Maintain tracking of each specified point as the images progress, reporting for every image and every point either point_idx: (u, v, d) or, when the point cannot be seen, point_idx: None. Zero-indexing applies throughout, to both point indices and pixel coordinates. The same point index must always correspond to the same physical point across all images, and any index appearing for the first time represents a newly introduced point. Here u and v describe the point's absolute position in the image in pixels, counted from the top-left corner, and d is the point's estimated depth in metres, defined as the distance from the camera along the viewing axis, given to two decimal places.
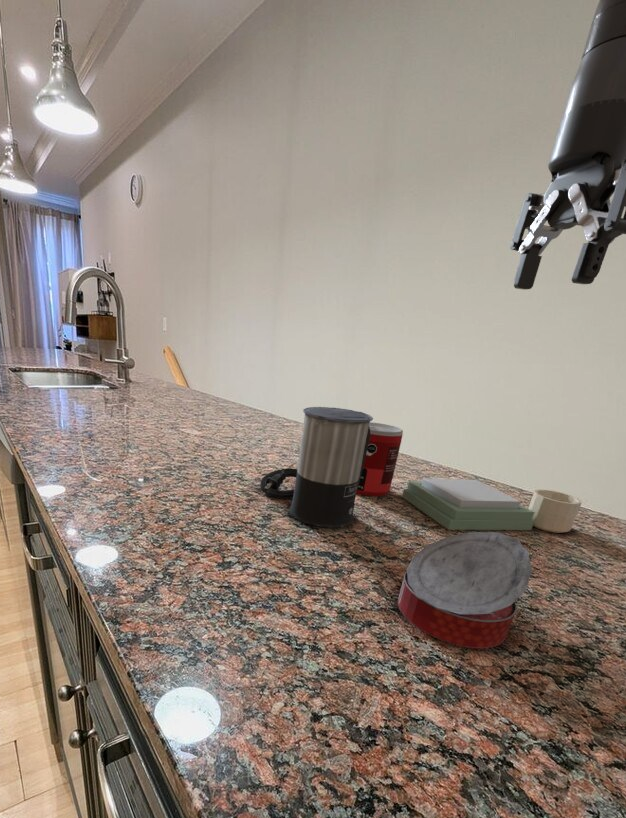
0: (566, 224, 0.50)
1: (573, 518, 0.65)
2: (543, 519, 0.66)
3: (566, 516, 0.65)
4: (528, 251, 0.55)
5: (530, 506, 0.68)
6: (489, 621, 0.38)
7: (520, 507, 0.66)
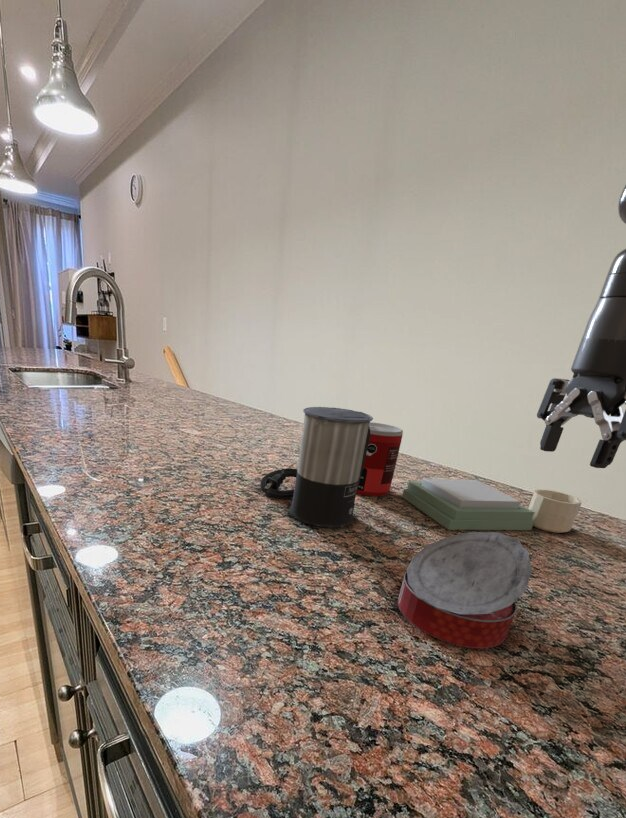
0: None
1: (573, 518, 0.65)
2: (543, 519, 0.66)
3: (566, 516, 0.65)
4: (552, 424, 0.66)
5: (530, 506, 0.68)
6: (489, 621, 0.38)
7: (520, 507, 0.66)
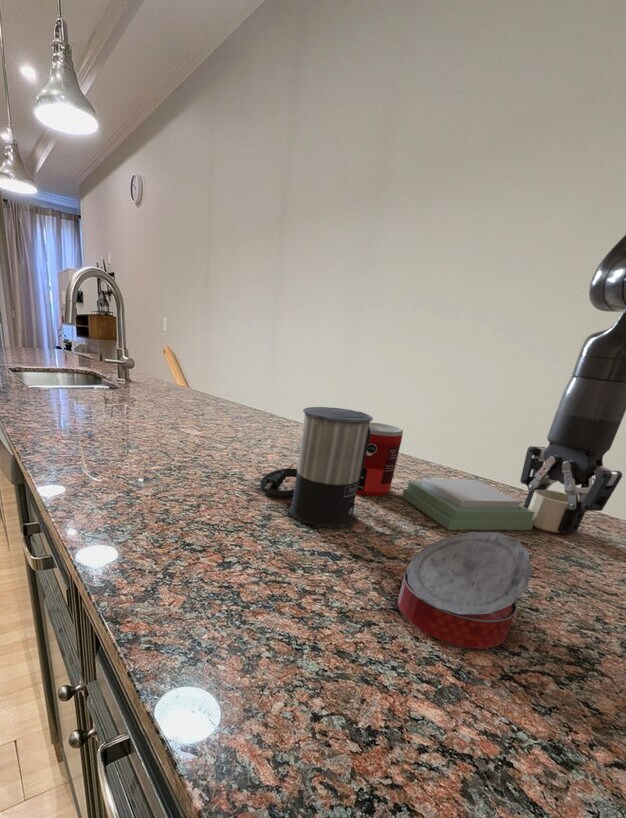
0: None
1: None
2: (543, 519, 0.66)
3: None
4: None
5: (530, 506, 0.68)
6: (489, 621, 0.38)
7: (520, 507, 0.66)
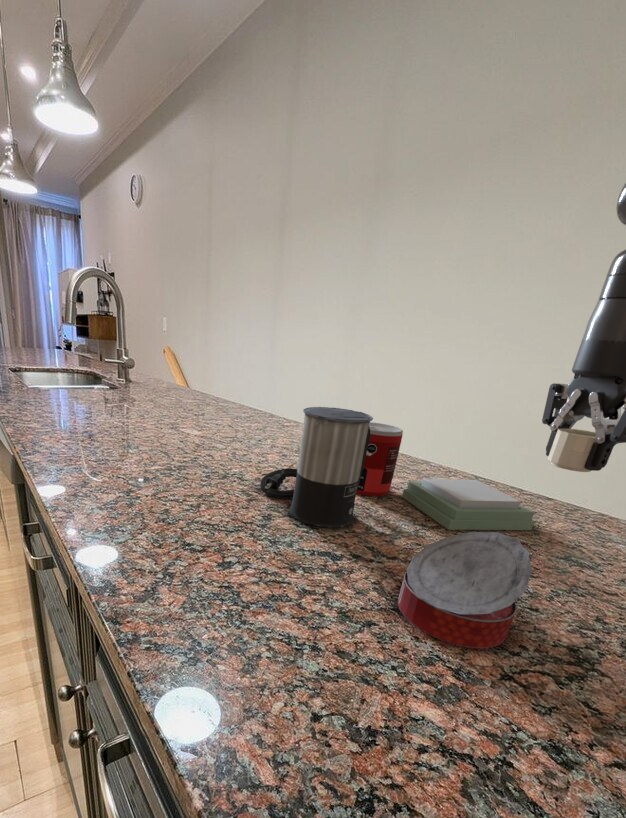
0: None
1: None
2: (568, 457, 0.62)
3: None
4: None
5: (553, 445, 0.64)
6: (489, 621, 0.38)
7: (520, 507, 0.66)
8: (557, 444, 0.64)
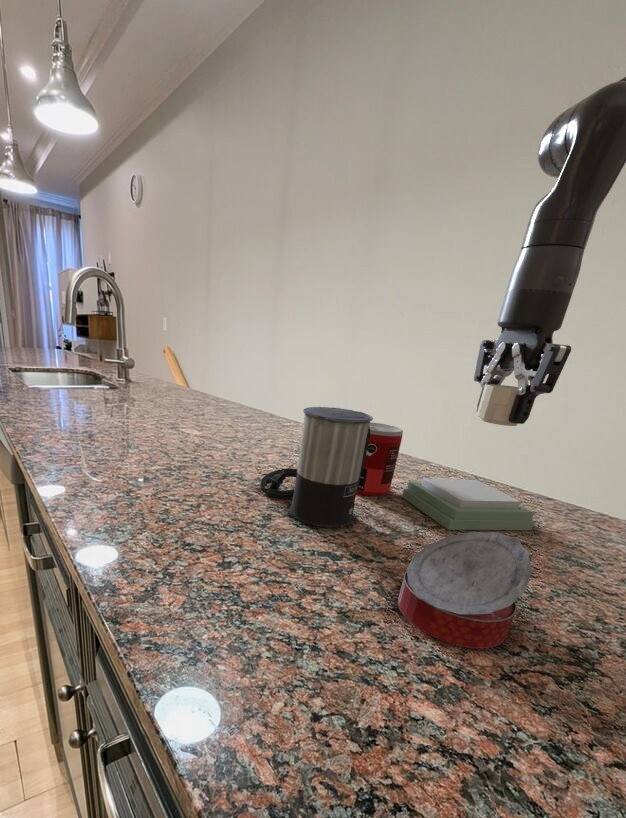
0: None
1: None
2: (493, 410, 0.62)
3: None
4: None
5: (481, 400, 0.64)
6: (489, 621, 0.38)
7: (520, 507, 0.66)
8: (484, 398, 0.64)
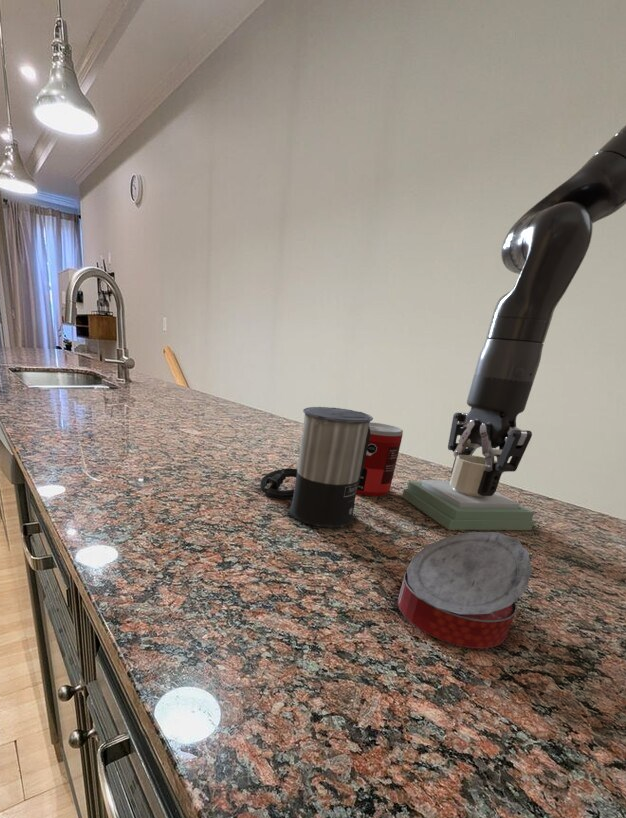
0: None
1: None
2: (464, 483, 0.67)
3: None
4: None
5: (453, 471, 0.69)
6: (489, 621, 0.38)
7: (520, 507, 0.66)
8: (455, 470, 0.68)
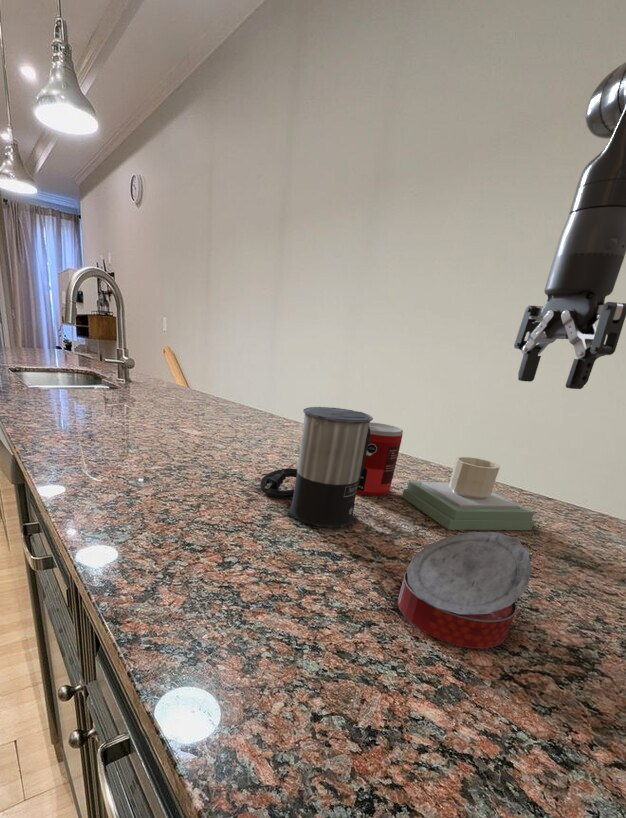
0: None
1: (492, 483, 0.66)
2: (463, 485, 0.67)
3: (484, 481, 0.65)
4: (529, 352, 0.66)
5: (453, 473, 0.69)
6: (489, 621, 0.38)
7: (520, 507, 0.66)
8: (455, 472, 0.68)
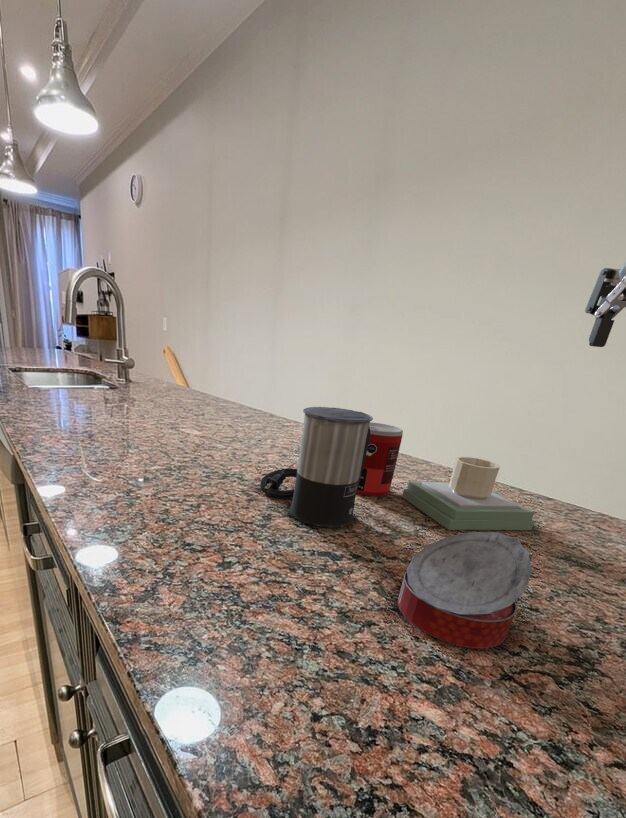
0: None
1: (492, 483, 0.66)
2: (463, 485, 0.67)
3: (484, 481, 0.65)
4: (603, 316, 0.64)
5: (453, 473, 0.69)
6: (489, 621, 0.38)
7: (520, 507, 0.66)
8: (455, 472, 0.68)
